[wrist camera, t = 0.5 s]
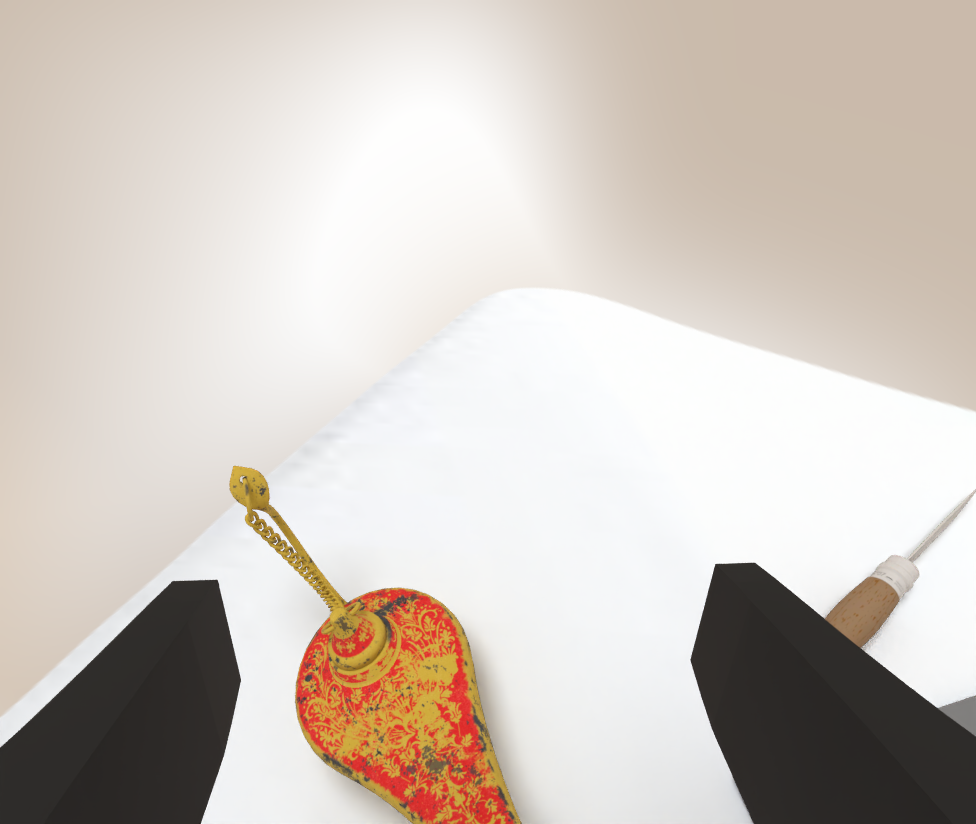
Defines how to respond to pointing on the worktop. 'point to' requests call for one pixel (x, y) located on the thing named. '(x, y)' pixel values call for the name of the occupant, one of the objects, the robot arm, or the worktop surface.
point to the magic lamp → (391, 693)
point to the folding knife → (881, 591)
